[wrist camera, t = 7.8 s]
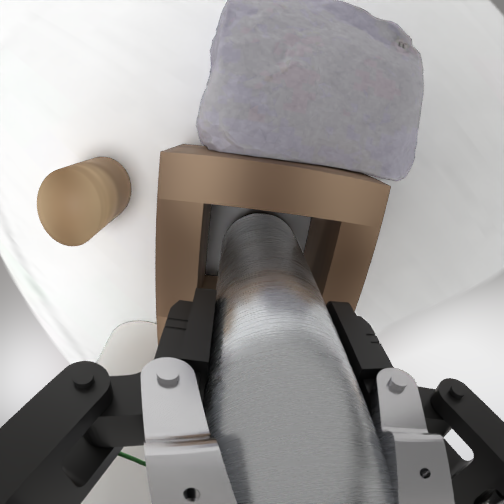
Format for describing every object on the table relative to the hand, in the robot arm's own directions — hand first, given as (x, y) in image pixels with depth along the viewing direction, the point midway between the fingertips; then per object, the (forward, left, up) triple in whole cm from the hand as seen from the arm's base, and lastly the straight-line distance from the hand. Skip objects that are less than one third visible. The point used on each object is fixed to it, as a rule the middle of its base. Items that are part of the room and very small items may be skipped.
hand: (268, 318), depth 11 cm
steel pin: (0, 0, -6) cm, 6 cm away
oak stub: (+10, -2, -9) cm, 13 cm away
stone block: (-2, -10, -9) cm, 13 cm away
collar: (0, 0, -9) cm, 9 cm away
